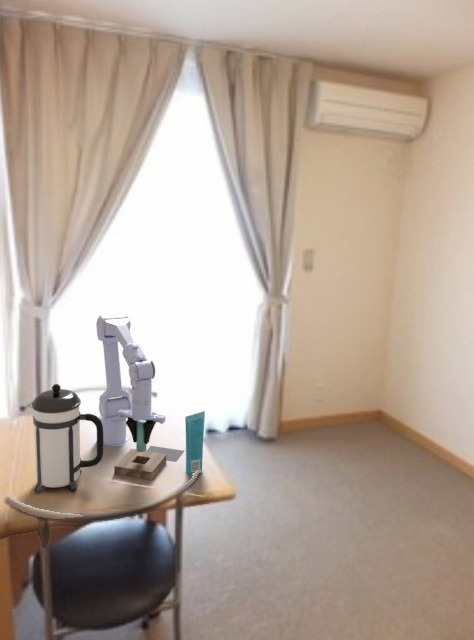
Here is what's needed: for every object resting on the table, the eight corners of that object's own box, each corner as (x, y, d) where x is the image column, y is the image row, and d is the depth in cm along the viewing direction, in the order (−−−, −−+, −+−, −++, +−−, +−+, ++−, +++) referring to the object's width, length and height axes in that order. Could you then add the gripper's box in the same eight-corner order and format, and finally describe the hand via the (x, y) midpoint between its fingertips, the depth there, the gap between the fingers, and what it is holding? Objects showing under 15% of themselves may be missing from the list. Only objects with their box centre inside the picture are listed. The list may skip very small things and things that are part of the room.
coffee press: (50, 504, 135) (47, 398, 129) (21, 482, 145) (16, 383, 139) (105, 481, 148) (104, 384, 142) (75, 462, 158) (73, 370, 152)
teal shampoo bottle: (196, 465, 160) (198, 408, 156) (207, 471, 157) (209, 412, 153) (179, 474, 154) (181, 414, 151) (190, 479, 151) (192, 419, 148)
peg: (134, 451, 154) (135, 423, 152) (138, 447, 157) (139, 419, 155) (143, 452, 153) (144, 424, 152) (147, 448, 156) (148, 421, 154)
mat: (141, 457, 164) (141, 456, 164) (150, 446, 171) (150, 445, 171) (176, 462, 161) (176, 461, 161) (184, 451, 169) (184, 450, 169)
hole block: (114, 475, 152) (114, 466, 151) (131, 457, 163) (131, 448, 163) (151, 481, 149) (151, 472, 149) (166, 462, 161) (166, 454, 160)
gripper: (113, 401, 149) (113, 444, 152) (159, 407, 146) (158, 451, 149) (123, 393, 156) (123, 434, 159) (168, 399, 153) (167, 441, 156)
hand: (141, 441), depth 155 cm, fingers closed on peg, 3 cm apart
